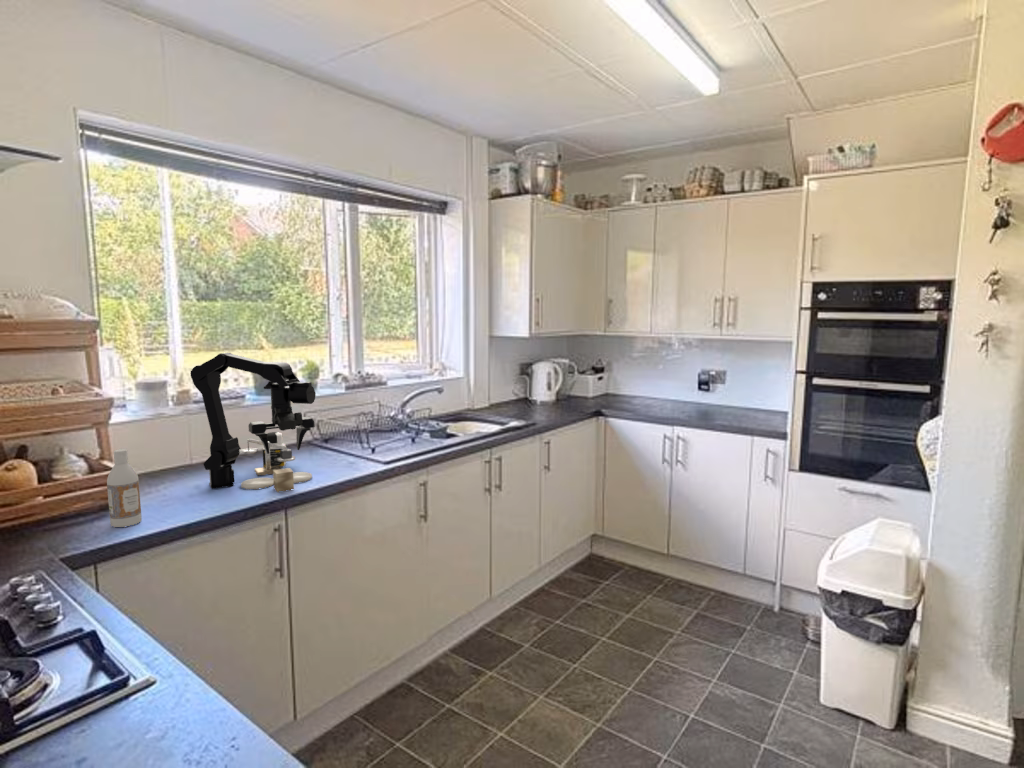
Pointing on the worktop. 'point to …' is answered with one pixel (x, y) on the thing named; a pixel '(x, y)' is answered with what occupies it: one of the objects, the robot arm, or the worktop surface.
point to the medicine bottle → (274, 449)
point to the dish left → (257, 483)
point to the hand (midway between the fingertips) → (283, 451)
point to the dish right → (301, 477)
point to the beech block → (283, 479)
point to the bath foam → (123, 492)
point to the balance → (285, 456)
